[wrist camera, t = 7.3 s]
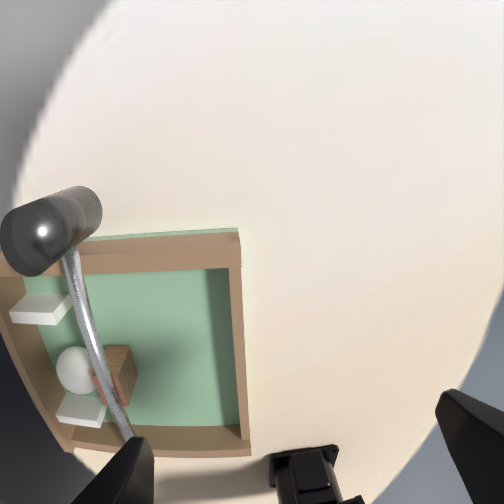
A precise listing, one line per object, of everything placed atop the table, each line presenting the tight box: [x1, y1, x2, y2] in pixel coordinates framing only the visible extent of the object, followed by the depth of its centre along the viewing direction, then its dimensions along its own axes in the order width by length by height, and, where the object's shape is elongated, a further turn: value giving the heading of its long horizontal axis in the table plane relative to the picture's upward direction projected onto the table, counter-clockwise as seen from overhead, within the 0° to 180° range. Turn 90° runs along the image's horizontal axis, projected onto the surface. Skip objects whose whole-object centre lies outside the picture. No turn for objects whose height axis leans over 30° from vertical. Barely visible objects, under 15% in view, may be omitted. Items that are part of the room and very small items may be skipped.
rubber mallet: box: [0, 186, 138, 442], centre depth 15 cm, size 20×3×6 cm, turn 2°
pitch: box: [0, 228, 251, 458], centre depth 18 cm, size 16×15×4 cm
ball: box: [56, 346, 97, 394], centre depth 17 cm, size 3×3×3 cm
